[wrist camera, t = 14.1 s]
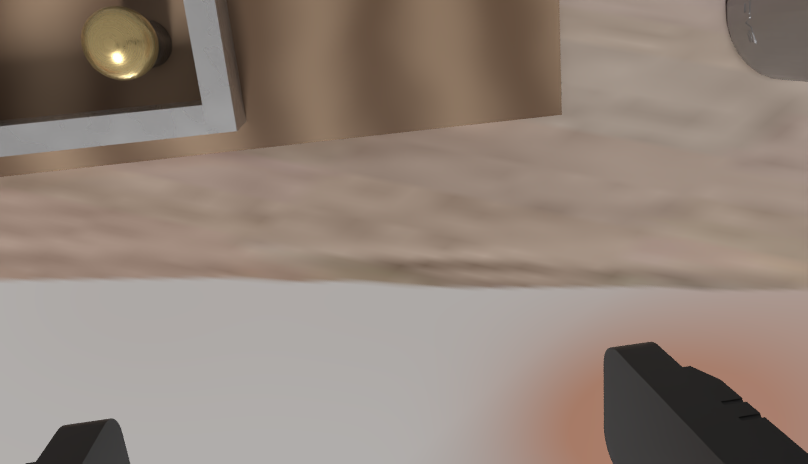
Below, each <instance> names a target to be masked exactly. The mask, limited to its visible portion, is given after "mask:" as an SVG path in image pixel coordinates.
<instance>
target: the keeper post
mask: <svg viewBox="0 0 808 464" xmlns="http://www.w3.org/2000/svg"><path fill="white" fill-rule="evenodd" d="M81 46H82V50H83V53H84V55H85V57H86V59H87V60H88V62H89V63H90V64H91V66H92V67H93V68H94V69H96V70H97V71H98V72H99V73H101V74H103V75H105V76H107V77H109V78H112V79H116V80H133V79H136V78H139V77H141V76H143V75H144V74H146V73H147V72H148V71H149V70H150V69H151V68H153V67H158V66H160V65H162V64H164V63H165V62H166V61H167V60H168V59H169V57H170V55H171V53H172V39H171V36H170V34H169V32H168V31H167V30H166V29H165V27H163V26H162V25H161V24H160V23H158V22H156V21H153V20H148V19H146V18H145V17H144V16H143V15H141V14H140V13H138V12H136V11H135V10H132V9H130V8H127V7H123V6H109V7H104V8H101V9H99V10H97V11H96V12H94V13H93V14H92V15H91V16H89V18H88V19H87V20H86V22H85V24H84V26H83V28H82V32H81Z"/></svg>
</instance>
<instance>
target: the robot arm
mask: <svg viewBox="0 0 808 464" xmlns="http://www.w3.org/2000/svg"><path fill="white" fill-rule="evenodd" d="M727 23H728V28H729V32H730V36H731V40H732V42H733V44H734V46H735V48H736V50H737V52H738V54H739V55H740V56H741V57H742V59H743V60H744V61H745V62H746V63H747V64H748V65H749V66H750V67H751V68H753V69H754V70H756V71H757V72H759V73H760V74H763V75H765V76H768V77H771V78H773V79H782V80H792V81H804V82H808V0H728V2H727ZM604 433H605V440H606V445H607V449H608V452H609V455H610V458H611V460H612V462H613V464H808V453H806V452H805V451H804V450H803V449H802V448H801V447H799V446H798V445H797V444H796V443H794V442H793V441H792V440H791V439H790V438H789V437H787V436H786V435H785V434H784V433H783V432H782V431H780V430H779V429H778V428H777V427H776V426H775V425H773V424H772V423H771V422H770V421H769V420H767V419H766V418H765V417H764V418H761V415H760V413H759V412H758V411H757V410H756V409H754V408H753V407H752V406H751V405H750V404H748V403H747V402H743V400H742V398H741V397H740V396H739V395H738V394H737V393H736V392H734V391H733V390H732V389H731V388H730V387H728V386H727V385H726V384H725V383H724V382H723V381H721V380H720V379H718V378H715V377H713V376H711V375H709V374H706V373H704V372H702V371H700V370H697V369H696V368H693V367H691V366H688V367H682V366H680V365H679V364H678V363H677V362H676V361H675V360H674V359H673V358H672V357H671V356H669V355H668V354H667V353H666V352H665V351H664V350H663V349H662V348H661V347H660V346H658V345H657V344H656V343H654V342H647V343H639V344H633V345H625V346H619V347H612V348H609V349H607V350H606V352H605V356H604ZM26 464H130V462H129V457H128V454H127V450H126V446H125V442H124V438H123V434H122V431H121V428H120V425H119V424H118V422H117V421H116V420H115V419H104V420H98V421H91V422H84V423H77V424H70V425H64V426H62V427H60V428H59V429H58V431H57V432H56V434H55V435H54V436H53V438H52V439H51V441H50V442H49V444H48V445H47V446H46V448H45V450H44V451H43V452H42V454H41V456H40V457H39V458H38V460H37V461H36V462H33V463H26Z"/></svg>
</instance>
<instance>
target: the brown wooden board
mask: <svg viewBox="0 0 808 464" xmlns="http://www.w3.org/2000/svg"><path fill="white" fill-rule="evenodd" d="M226 1H227V7H228V13H229V19H230V25H231V31H232V37H233V44H234V50H235V56H236V62H237V68H238V74H239V80H240V86H241V92H242V98H243V104H244V111H245V117H246V123H245V124H244V125H243V126H242V127H241V128H240V129H239V130H238V131H234V132H225V133H215V134H206V135H197V136H188V137H179V138H170V139H160V140H151V141H142V142H133V143H124V144H115V145H105V146H96V147H87V148H78V149H69V150H60V151H50V152H41V153H32V154H23V155H14V156H5V157H0V177H3V176H12V175H21V174H30V173H40V172H49V171H58V170H67V169H76V168H85V167H94V166H103V165H112V164H121V163H130V162H139V161H148V160H157V159H166V158H175V157H184V156H193V155H202V154H211V153H220V152H229V151H238V150H247V149H256V148H265V147H274V146H283V145H292V144H301V143H310V142H319V141H328V140H337V139H346V138H355V137H364V136H373V135H382V134H391V133H400V132H409V131H418V130H427V129H436V128H445V127H454V126H463V125H472V124H481V123H490V122H499V121H508V120H517V119H526V118H535V117H544V116H553V115H562V108H561V64H560V20H559V0H226ZM109 6H123V7H127V8H130V9H132V10H135V11H136V12H138V13H140V14H141V15H143V16H144V17H145V18H146V19H148V20H153V21H156V22H158V23H160V24H161V25H162V26H163V27H165V29H166V30H167V31H168V32H169V34H170V36H171V39H172V53H171V55H170V57H169V59H168V60H167V61H166V62H165V63H164V64H162V65H160V66H158V67H153V68H151V69H150V70H149V71H148V72H147V73H146V74H144V75H143V76H141V77H139V78H136V79H133V80H116V79H112V78H109V77H107V76H105V75H103V74H101V73H99V72H98V71H97V70H96V69H94V68H93V67H92V66H91V64H90V63H89V62H88V60H87V59H86V57H85V55H84V53H83V50H82V46H81V32H82V28H83V26H84V24H85V22H86V20H87V19H88V18H89V16H91V15H92V14H93V13H94V12H96V11H97V10H99V9H101V8H104V7H109ZM195 100H201V95H200V90H199V84H198V79H197V73H196V68H195V62H194V57H193V51H192V46H191V40H190V35H189V29H188V24H187V19H186V13H185V8H184V2H183V0H0V121H4V120H13V119H23V118H33V117H42V116H52V115H61V114H71V113H80V112H90V111H100V110H109V109H119V108H128V107H138V106H147V105H157V104H167V103H176V102H186V101H195Z"/></svg>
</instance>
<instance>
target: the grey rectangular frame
mask: <svg viewBox="0 0 808 464" xmlns="http://www.w3.org/2000/svg"><path fill="white" fill-rule="evenodd" d="M183 2H184V8H185V13H186V19H187V24H188V29H189V35H190V40H191V46H192V51H193V57H194V62H195V68H196V73H197V79H198V84H199V90H200V95H201V100H195V101H186V102H176V103H167V104H157V105H147V106H138V107H128V108H119V109H109V110H100V111H90V112H80V113H71V114H61V115H52V116H42V117H33V118H23V119H13V120H4V121H0V157H5V156H14V155H23V154H32V153H41V152H50V151H60V150H69V149H78V148H87V147H96V146H105V145H115V144H124V143H133V142H142V141H151V140H160V139H170V138H179V137H188V136H197V135H206V134H215V133H225V132H234V131H238V130H239V129H240V128H241V127H242V126H243V125H244V124H245V123H246V117H245V111H244V104H243V98H242V92H241V86H240V80H239V74H238V68H237V62H236V56H235V50H234V44H233V37H232V31H231V25H230V19H229V13H228V7H227V1H226V0H183Z"/></svg>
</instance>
